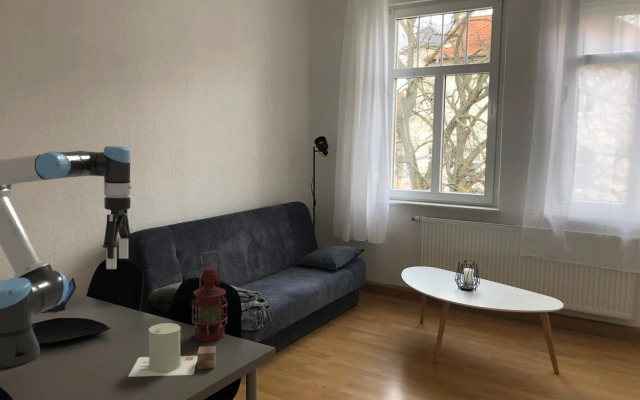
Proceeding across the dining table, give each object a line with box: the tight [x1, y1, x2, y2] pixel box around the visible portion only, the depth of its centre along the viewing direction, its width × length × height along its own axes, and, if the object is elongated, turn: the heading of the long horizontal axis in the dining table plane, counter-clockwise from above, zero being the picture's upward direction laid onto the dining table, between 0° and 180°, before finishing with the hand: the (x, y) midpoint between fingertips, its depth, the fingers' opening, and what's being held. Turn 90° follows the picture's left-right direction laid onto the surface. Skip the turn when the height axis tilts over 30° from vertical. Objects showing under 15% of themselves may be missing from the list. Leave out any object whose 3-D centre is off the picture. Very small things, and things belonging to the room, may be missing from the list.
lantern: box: [191, 250, 229, 343], centre depth 172 cm, size 12×12×30 cm
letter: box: [128, 355, 197, 378], centre depth 149 cm, size 18×13×1 cm
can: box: [148, 322, 182, 372], centre depth 149 cm, size 9×9×12 cm
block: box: [196, 345, 217, 370], centre depth 151 cm, size 5×5×5 cm
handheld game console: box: [40, 277, 77, 314], centre depth 201 cm, size 16×13×9 cm
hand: (117, 263), depth 157 cm, fingers open, 13 cm apart
